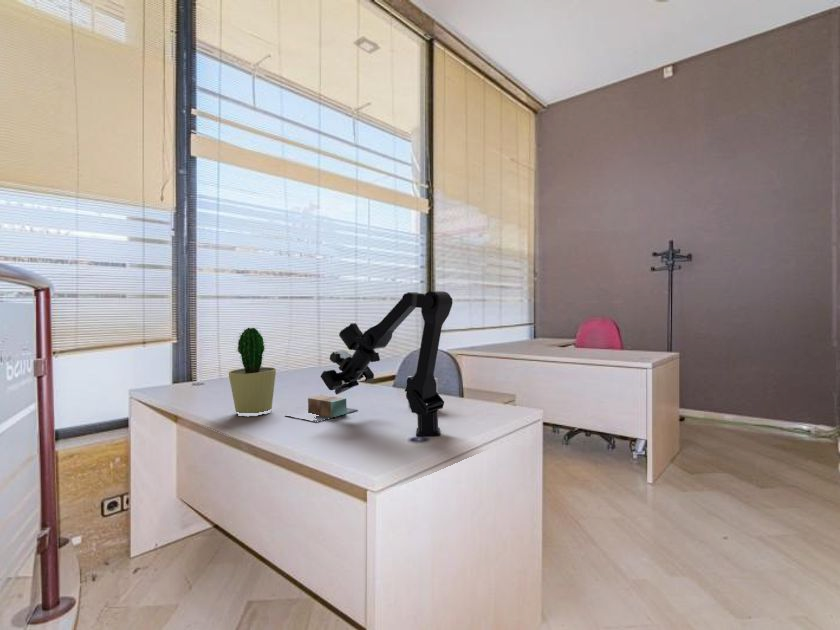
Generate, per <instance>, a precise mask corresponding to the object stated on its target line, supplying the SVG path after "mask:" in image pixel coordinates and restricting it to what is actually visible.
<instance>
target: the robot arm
mask: <svg viewBox="0 0 840 630" xmlns="http://www.w3.org/2000/svg"><path fill="white" fill-rule="evenodd" d="M452 307H453V298H452V296H451V295H450V293H449V292H446V291H444V290H443V291H442V290H441V291H440V290H439V291H438V290H437V291H436V290H433V291H431V290H430V291H429V290H428V291H427V292H426V293H420V292H416V291H415V292H414V291H412V292H411V291H409V292H407V291H406V292H405V293H403V295H402V298H401V299H400V300H399V301H398V302H397V303H396V304H395V305H394V306H393V308H392V309H391V310H390V311H389V312H388V313H387V315H385V316H384V318H383V319H382V320H381V321H380V322H378V323H376V324H374V325H373V326H370V327H369V328H368V329H367V330H365V331H364V332H362V331H361V329H360V328H359V326H358V324H357V323H356V322H355V323H354V322H353V323H350V324H349V325H347V326H345V327H344V328H343V329H341V330H340V332H339V335H338V337H340V340H341V341H342V342H343V343H344V345H345V346H346V348H347V349H348V350H349V351H353V354H351V353H349V352H348V351H346V350H344V349H343V350H341V349H340V350H335V351H333V352H332V353H330V355H329V361H331V362H332V363H334V364H336V365H338V369H339V371H341V372H337V371H336V370H335V369H328V370H324V371H322V373H321V374H320V379H321V380H322V381H323V383H324V384H325V386H326V388H327V389H328V390H329V391H334V393H335V395H339V394H342V393H344V392H346V391H348V390H350V389H353V388H354V387H357V386H359V382H358V381H360V380H362V379H364V378H365V379H364V382H365V383H371V382H372V381H373V380H374V378H375V376H374V375H375V374H374V372H373V371H372V369H371V368H370V367H369V365H370V363H374V362H380V360H381V357H380V356H379V355H380V354H379V352H377V351H375V350H376V349H377V350H378V349H384V348H386V347H387V346H388V344H389V343H390V341H391V340H392V339H393V333H394V332H395V331H396V329H398V327H399V326H400V325H401V324H402V323H403V322H404V321H405V320H406V319H407V317H409V316H410V314H411V313H412V312H414V310H415V309H416V308H418V309H421V310H420V311H421V316H422V318H423V319H422V320H423V321H424V322H423V323H424V325H423V331H422V336H421V343H420V348H419V353H418V359H417V364H416V365H417V366H416V371H415V374H414V375H411V376H412V377H408V376H407V379H406V387H405V388H404V393H405V396H406V397H405V398H406V399H407V403H408V402H409V405H410V407H409V408H410V412H411V413H412V414H415V415H416V416H417V417H416V418H417V427H416V431H415V436H417V437H423V436H424V437H425V436H427V437H428V436H429V437H431V436H433V437H434V436H435V437H436V436H440V435H441V431H440V430H441V428H440V427H439V410H442V409H443V408H444V404H445V401H444V400H443V398H442V397H441V396H440V395H439V392H438V393H437V392H436V381H435V378H436V377H435V369H436V368H435V367H436V364H437V363H436V362H437V356H438V350H439V345H440V339H441V334H442V333H441V332H442V327H443V325H444V323H445V321H446V320H447V318H448V317H449V315H450V313H451V310H452ZM426 404H428V405H426ZM438 409H439V410H438Z"/></svg>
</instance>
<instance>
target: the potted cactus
mask: <svg viewBox="0 0 840 630" xmlns="http://www.w3.org/2000/svg"><path fill="white" fill-rule="evenodd" d="M262 333H263V332H261V330H258V329H257V328H256V327H252V326H251V327H248V328H247V327H246V328H244V329H243V330H241V334H239V335H238V339H237V346H236V345H235V348H236V352H237V353H238V354H240V360H239V361H240V362H239V363H241V364H242V366H243V368H238V369H233V370H230V371H228V372H227V373H228V378H229V383H230V388H231V393H232V399H233V404H234V410H235V413H236V412H239V413H259V412H264V411H268V410H270V409H273V399H274V392H275V382H276V374H277V373H276V372H277V371H276V370H277V368H276V367H269V366H264V367H263V366H262V365H263V364H264V362H263V361H264V358H263V356H264V353H265V352H266V349H267V348H265V347H266V344H265V343H266V342H268V341H266V340H264V339H265V337H264V336H263V335H262Z"/></svg>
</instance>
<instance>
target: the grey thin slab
mask: <svg viewBox="0 0 840 630" xmlns="http://www.w3.org/2000/svg"><path fill="white" fill-rule="evenodd" d="M354 411H356V412H358V411H359V409H357V408H356V409H355V408H349V407H347V413H349V414H352V413H355V412H354ZM351 412H352V413H351ZM314 418H315V417H314ZM328 418H331V419H333V418H332V417H327V416H322V415H319V416H316V418H315V419H317V420H313V421H316V422H317V421H321V420H324V419H328ZM328 420H329V419H328ZM321 422H322V421H321Z"/></svg>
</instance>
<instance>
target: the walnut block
mask: <svg viewBox="0 0 840 630" xmlns="http://www.w3.org/2000/svg"><path fill="white" fill-rule="evenodd" d="M307 407H308V408H307V409H308V413H312V414H316V415H322V416H327V417H332V418H331V419H334V418H333V417H335V418H338V417H341V416H340V415H342V416H345V415H348V414H347V408H348V407H347V398H345V397H338V396H331V395H325V394H324V395H323V394H321V395H316V396H315V395H314V396H312V397H308V398H307ZM344 414H345V415H344ZM337 416H338V417H337Z"/></svg>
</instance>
